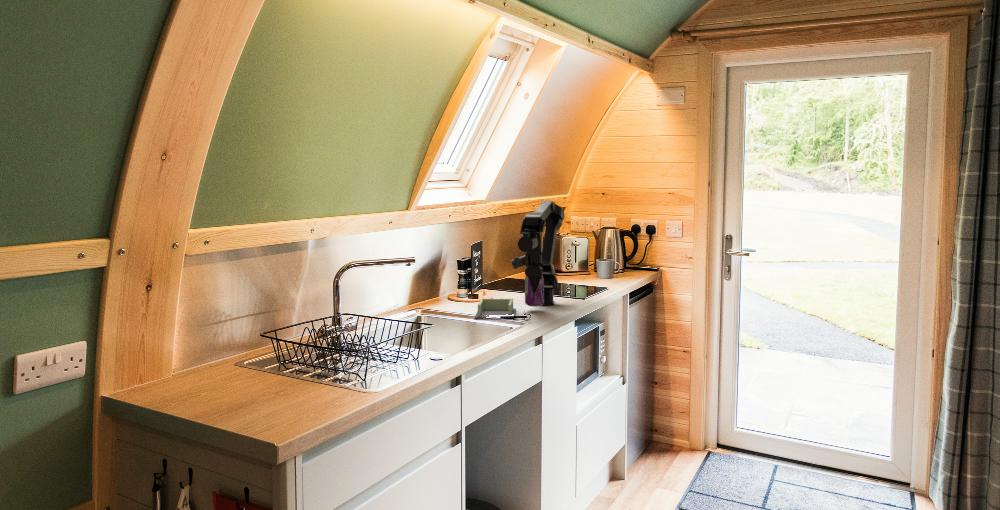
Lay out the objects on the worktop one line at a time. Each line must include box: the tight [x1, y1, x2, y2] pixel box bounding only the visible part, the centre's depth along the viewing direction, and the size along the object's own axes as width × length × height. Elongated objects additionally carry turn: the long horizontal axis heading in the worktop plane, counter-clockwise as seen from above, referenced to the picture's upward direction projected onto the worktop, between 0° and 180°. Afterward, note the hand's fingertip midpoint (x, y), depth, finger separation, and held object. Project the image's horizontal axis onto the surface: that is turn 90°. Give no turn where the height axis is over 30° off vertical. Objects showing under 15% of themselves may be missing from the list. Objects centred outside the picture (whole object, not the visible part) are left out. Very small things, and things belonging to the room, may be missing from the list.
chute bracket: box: [474, 298, 517, 320], centre depth 286 cm, size 15×14×5 cm
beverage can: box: [524, 273, 544, 308], centre depth 290 cm, size 7×7×12 cm
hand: (534, 290), depth 290 cm, fingers closed on beverage can, 7 cm apart
